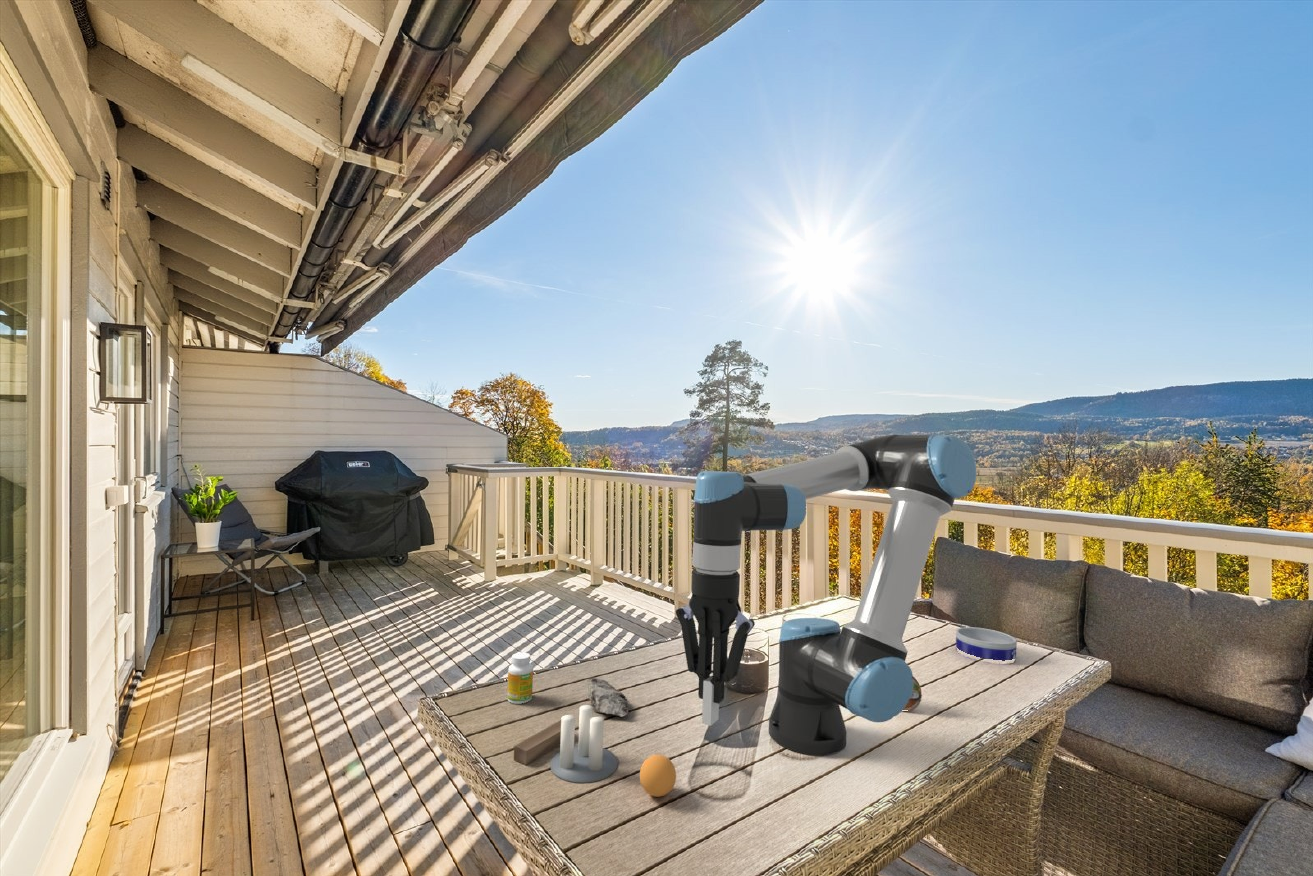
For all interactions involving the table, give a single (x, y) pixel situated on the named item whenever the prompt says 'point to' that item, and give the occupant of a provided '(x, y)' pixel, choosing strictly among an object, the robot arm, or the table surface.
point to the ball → (657, 775)
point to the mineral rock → (606, 698)
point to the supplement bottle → (520, 679)
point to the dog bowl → (986, 643)
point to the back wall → (538, 744)
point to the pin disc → (584, 768)
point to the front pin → (596, 743)
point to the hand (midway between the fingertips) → (710, 721)
